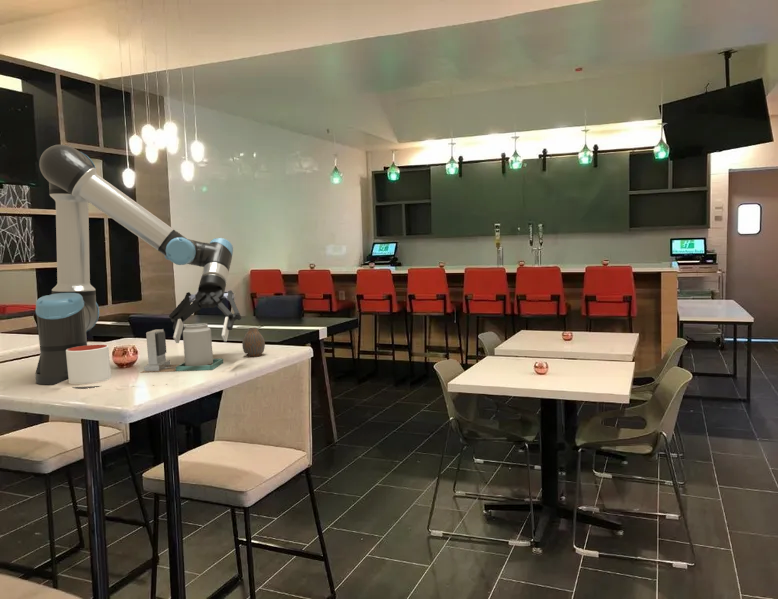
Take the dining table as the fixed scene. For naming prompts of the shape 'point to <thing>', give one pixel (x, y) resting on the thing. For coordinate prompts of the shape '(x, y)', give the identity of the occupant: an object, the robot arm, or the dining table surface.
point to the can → (197, 345)
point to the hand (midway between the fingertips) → (200, 339)
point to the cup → (88, 365)
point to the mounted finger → (156, 351)
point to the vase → (253, 343)
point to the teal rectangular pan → (190, 367)
